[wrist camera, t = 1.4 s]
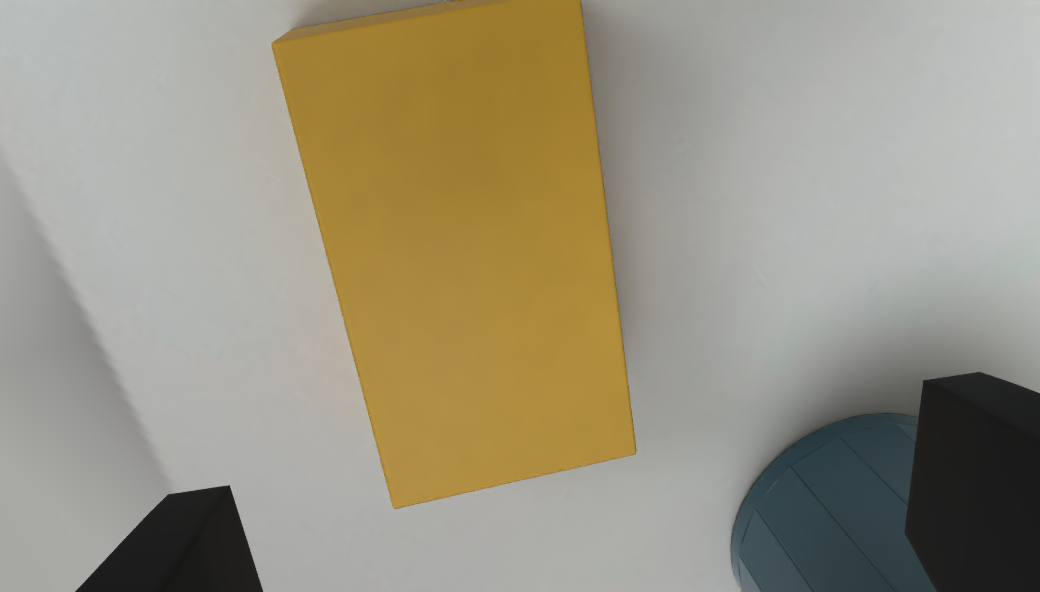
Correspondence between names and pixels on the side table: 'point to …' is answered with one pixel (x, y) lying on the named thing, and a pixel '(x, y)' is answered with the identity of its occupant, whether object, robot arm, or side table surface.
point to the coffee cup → (833, 513)
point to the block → (466, 237)
